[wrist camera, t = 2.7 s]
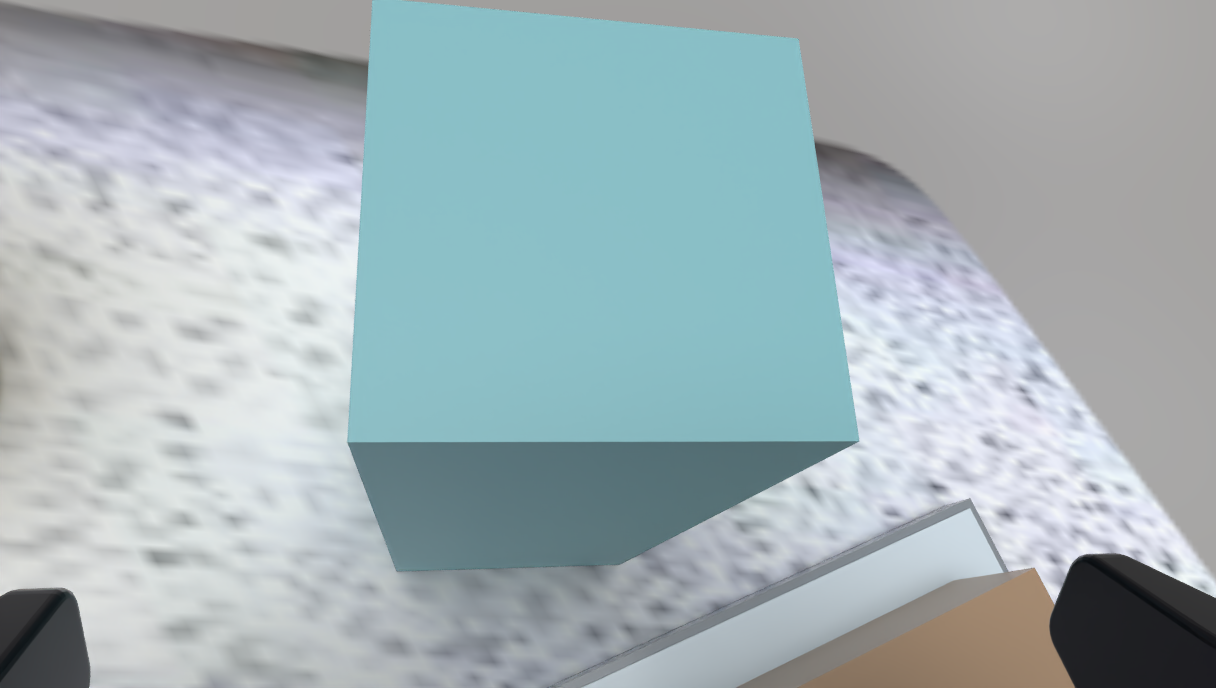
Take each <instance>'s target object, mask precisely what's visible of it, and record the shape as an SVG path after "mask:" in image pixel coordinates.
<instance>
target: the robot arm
mask: <svg viewBox="0 0 1216 688" xmlns="http://www.w3.org/2000/svg"><path fill="white" fill-rule="evenodd" d="M1049 631H1050V636H1051V640H1052V643H1053V645H1054V647H1055V649H1056V651H1057V653H1058V655H1059V657H1060V659H1061V661H1062V663H1063V665H1064V667H1065V669H1066V671H1067V673H1068V675H1069V677H1070V679H1071V681H1072V683H1073V685H1074V686H1075V688H1216V598H1214V597H1212V596H1210V595H1208V594H1206V593H1204V592H1202V591H1200V590H1198V589H1195V588H1193V587H1191V586H1189V585H1187V584H1185V583H1183V582H1181V581H1179V580H1176V579H1174V578H1172V577H1170V576H1168V575H1166V574H1164V573H1162V572H1160V571H1157V570H1155V569H1153V568H1151V567H1149V566H1147V565H1145V564H1143V563H1141V562H1138V561H1136V560H1134V559H1132V558H1130V557H1128V556H1125V555H1121V554H1116V553H1107V554H1086V555H1082V556H1079V557H1078V558H1077V559H1076V560H1075V561H1074V562H1073V563H1072V565H1071V566H1070V569H1069V571H1068V573H1067V576H1066V578H1065V581H1064V583H1063V586H1062V588H1061V591H1060V593H1059V596H1058V598H1057V601H1056V603H1055V606H1054V608H1053V610H1052V613H1051V616H1050V620H1049ZM89 686H90V662H89V657H88V652H87V647H86V642H85V637H84V632H83V627H82V622H81V617H80V612H79V607H78V603H77V600H76V598H75V596H74V595H73V593H72V592H71V591H69V590H67V589H65V588H37V589H18V590H13V591H10V592H7V593H6V594H4V595H2V596H0V688H89Z"/></svg>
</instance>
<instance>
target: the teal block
mask: <svg viewBox="0 0 1216 688" xmlns="http://www.w3.org/2000/svg"><path fill="white" fill-rule="evenodd" d="M857 442H859V436H858V429H857V422H856V416H855V409H854V403H853V396H852V389H851V383H850V376H849V370H848V363H847V356H846V350H845V343H844V337H843V330H842V323H841V317H840V310H839V303H838V297H837V290H836V284H835V277H834V270H833V264H832V257H831V251H830V244H829V237H828V231H827V224H826V218H825V211H824V204H823V198H822V191H821V185H820V178H819V171H818V165H817V158H816V152H815V145H814V138H813V132H812V126H811V119H810V112H809V105H808V100H807V93H806V86H805V79H804V72H803V66H802V59H801V53H800V46H799V39H796V38H786V37H775V36H765V35H754V34H744V33H734V32H723V31H713V30H703V29H693V28H682V27H671V26H662V25H651V24H641V23H630V22H619V21H610V20H599V19H588V18H579V17H568V16H558V15H547V14H537V13H527V12H516V11H506V10H495V9H485V8H475V7H464V6H454V5H444V4H433V3H423V2H413V1H401V0H372V18H371V37H370V53H369V70H368V88H367V106H366V123H365V141H364V159H363V176H362V194H361V212H360V229H359V247H358V265H357V282H356V300H355V317H354V335H353V353H352V370H351V388H350V406H349V423H348V441H347V443H348V445H349V448H350V450H351V453H352V456H353V458H354V461H355V463H356V466H357V469H358V471H359V474H360V477H361V479H362V482H363V484H364V487H365V490H366V492H367V495H368V498H369V500H370V503H371V505H372V508H373V511H374V513H375V516H376V518H377V521H378V524H379V526H380V529H381V532H382V534H383V537H384V539H385V542H386V545H387V547H388V550H389V552H390V555H391V558H392V560H393V563H394V566H395V568H396V571H428V570H460V569H493V568H525V567H558V566H590V565H620V564H622V563H624V562H626V561H627V560H629V559H631V558H633V557H635V556H637V555H639V554H641V553H643V552H645V551H647V550H649V549H651V548H653V547H655V546H657V545H659V544H661V543H662V542H664V541H666V540H668V539H670V538H672V537H674V536H676V535H678V534H680V533H682V532H684V531H686V530H688V529H690V528H692V527H694V526H696V525H697V524H699V523H701V522H703V521H705V520H707V519H709V518H711V517H713V516H715V515H717V514H719V513H721V512H723V511H725V510H727V509H729V508H731V507H733V506H734V505H736V504H738V503H740V502H742V501H744V500H746V499H748V498H750V497H752V496H754V495H756V494H758V493H760V492H762V491H764V490H766V489H768V488H769V487H771V486H773V485H775V484H777V483H779V482H781V481H783V480H785V479H787V478H789V477H791V476H793V475H795V474H797V473H799V472H801V471H803V470H804V469H806V468H808V467H810V466H812V465H814V464H816V463H818V462H820V461H822V460H824V459H826V458H828V457H830V456H832V455H834V454H836V453H838V452H839V451H841V450H843V449H845V448H847V447H849V446H851V445H853V444H855V443H857Z"/></svg>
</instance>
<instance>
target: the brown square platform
mask: <svg viewBox="0 0 1216 688" xmlns="http://www.w3.org/2000/svg"><path fill="white" fill-rule="evenodd" d="M1054 606H1055V605H1054V603H1053V602H1052V600H1051V598H1050V596H1049V594H1048V592H1047V590H1046V588H1045V586H1044V585H1043V583H1042V581H1041V579H1040V577H1039V575H1038V573H1037V571H1036V569H1035V568H1030V569H1024V570H1017V571H1011V572H1008V570H1007V568H1006V566H1005V564H1004V562H1003V560H1002V558H1001V556H1000V555H999V553H998V551H997V549H996V547H995V545H994V543H993V541H992V539H991V537H990V535H989V533H988V532H987V530H986V528H985V526H984V524H983V522H982V520H981V518H980V516H979V514H978V512H977V510H976V509H975V507H974V505H973V503H972V501H971V499H970V498H969V499H966V500H962V501H959V502H956V503H952V504H949V505H946V506H944V507H942V508H940V509H938V510H935V511H933V512H931V513H929V514H927V515H924V516H922V517H920V518H918V519H916V520H913V521H911V522H909V523H907V524H905V525H902V526H900V527H898V528H896V529H894V530H892V531H889V532H887V533H885V534H883V535H881V536H878V537H876V538H874V539H872V540H870V541H867V542H865V543H863V544H861V545H859V546H856V547H854V548H852V549H850V550H848V551H846V552H843V553H841V554H839V555H837V556H835V557H832V558H830V559H828V560H826V561H824V562H821V563H819V564H817V565H815V566H813V567H810V568H808V569H806V570H804V571H802V572H800V573H797V574H795V575H793V576H791V577H789V578H786V579H784V580H782V581H780V582H778V583H775V584H773V585H771V586H769V587H767V588H764V589H762V590H760V591H758V592H756V593H754V594H751V595H749V596H747V597H745V598H743V599H740V600H738V601H736V602H734V603H732V604H729V605H727V606H725V607H723V608H721V609H718V610H716V611H714V612H712V613H710V614H708V615H705V616H703V617H701V618H699V619H697V620H694V621H692V622H690V623H688V624H686V625H683V626H681V627H679V628H677V629H675V630H672V631H670V632H668V633H666V634H664V635H662V636H659V637H657V638H655V639H653V640H651V641H648V642H646V643H644V644H642V645H640V646H637V647H635V648H633V649H631V650H629V651H626V652H624V653H622V654H620V655H618V656H616V657H613V658H611V659H609V660H607V661H605V662H602V663H600V664H598V665H596V666H594V667H591V668H589V669H587V670H585V671H583V672H580V673H578V674H576V675H574V676H572V677H570V678H567V679H565V680H563V681H561V682H559V683H556V684H554V685H552V686H550V687H548V688H1075V686H1074V685H1073V683H1072V681H1071V679H1070V677H1069V675H1068V673H1067V671H1066V669H1065V667H1064V665H1063V663H1062V661H1061V659H1060V657H1059V655H1058V653H1057V651H1056V649H1055V647H1054V645H1053V643H1052V640H1051V636H1050V631H1049V620H1050V616H1051V613H1052V610H1053V608H1054Z"/></svg>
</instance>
